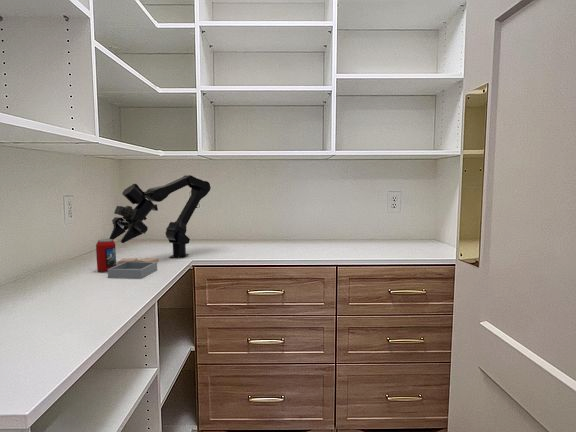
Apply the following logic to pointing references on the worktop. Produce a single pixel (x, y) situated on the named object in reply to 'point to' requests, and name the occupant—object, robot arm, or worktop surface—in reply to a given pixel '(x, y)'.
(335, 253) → the worktop surface
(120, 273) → the tray
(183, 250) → the robot arm
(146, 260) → the tile
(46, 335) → the worktop surface
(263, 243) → the worktop surface
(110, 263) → the beverage can
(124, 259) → the tile
